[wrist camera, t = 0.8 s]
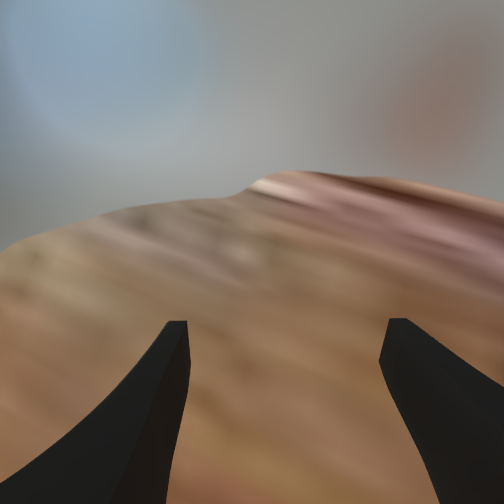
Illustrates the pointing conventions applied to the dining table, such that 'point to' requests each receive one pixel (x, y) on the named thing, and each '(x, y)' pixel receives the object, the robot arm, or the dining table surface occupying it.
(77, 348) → the dining table surface
